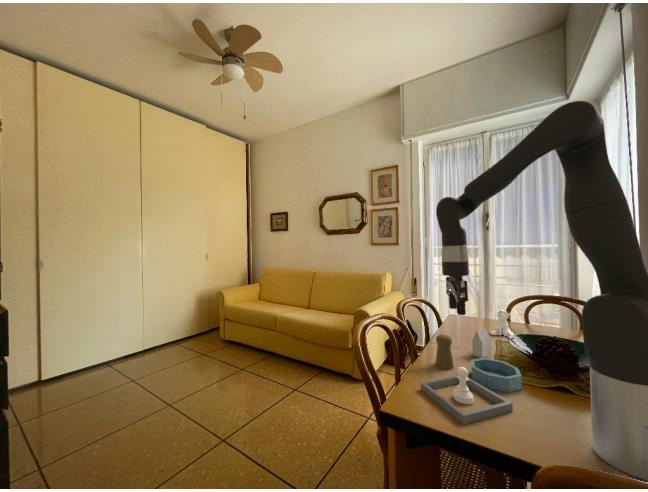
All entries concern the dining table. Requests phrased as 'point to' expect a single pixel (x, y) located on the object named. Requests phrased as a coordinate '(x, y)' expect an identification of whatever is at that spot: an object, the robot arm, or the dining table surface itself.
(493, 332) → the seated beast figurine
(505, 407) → the grey square frame
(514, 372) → the bowl
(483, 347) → the grey house block
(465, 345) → the dining table surface
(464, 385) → the chess pawn
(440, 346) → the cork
